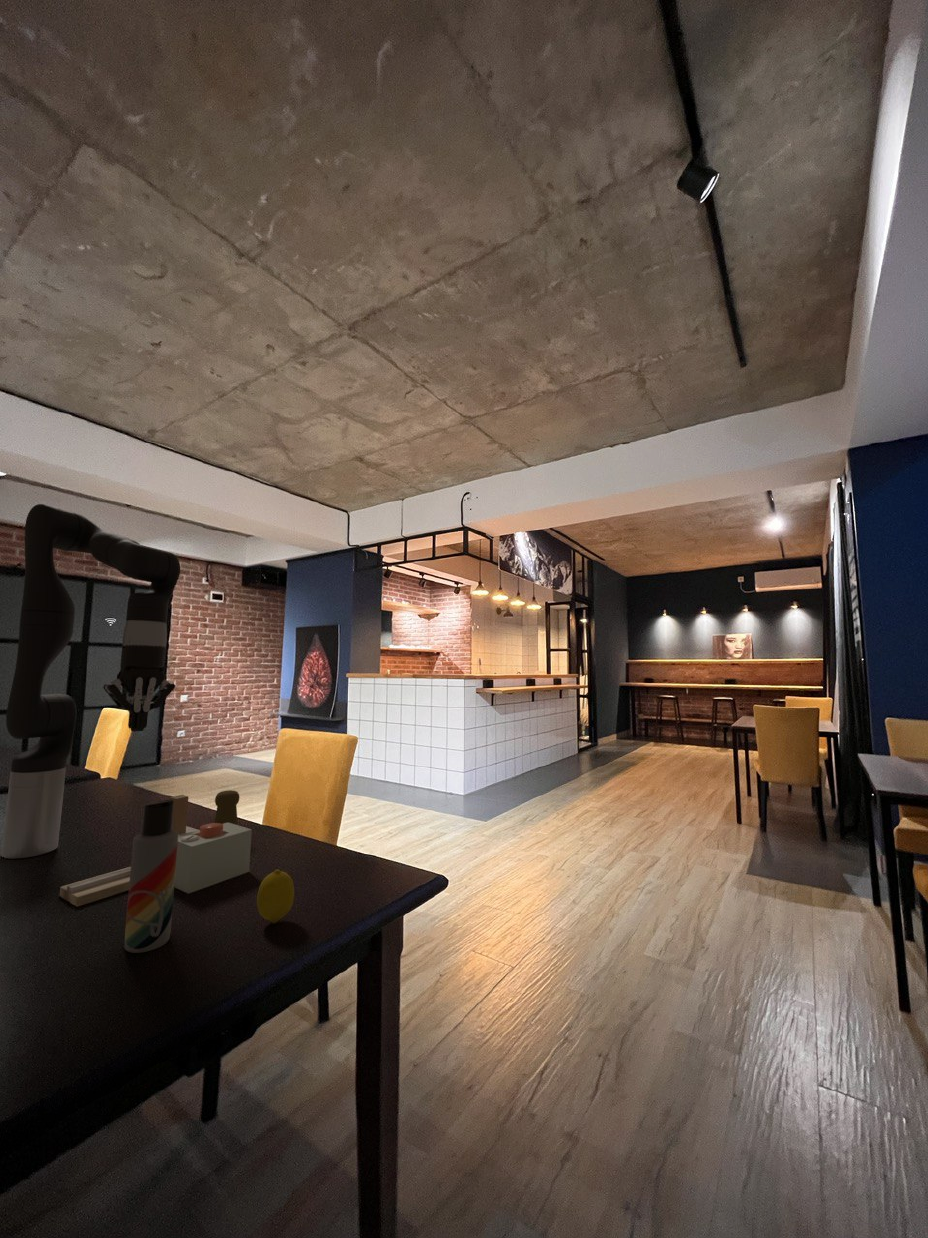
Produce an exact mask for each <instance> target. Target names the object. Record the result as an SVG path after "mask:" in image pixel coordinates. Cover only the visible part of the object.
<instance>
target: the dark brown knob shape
mask: <svg viewBox="0 0 928 1238" xmlns="http://www.w3.org/2000/svg"><path fill="white" fill-rule="evenodd" d="M240 798H241V797H240V793H239V792H238V791H236V790H228V789H227V790H222V791H220V792H218V793H217V794H216V795H215V799H214V802H215V803H214V804H215V805H216V811H215V815H214V820H213V823H221V824H224V823H232V824H235V825H238V826H239V824H238V811H237V810H238V809H237V807H238V806H237V805H238V804H239V801H240Z"/></svg>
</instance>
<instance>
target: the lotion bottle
mask: <svg viewBox="0 0 928 1238" xmlns="http://www.w3.org/2000/svg"><path fill="white" fill-rule="evenodd" d="M173 807H174V801H173V800H170V799H164V800H161V801H157V802H151V803H146V804H144V805H143V812H142V813H143V814H142V820H141V821H142V822H141V832H140V833H138V834H137V835H135V836H134V837H133V841H132V842H133V843H132V849H131V861H130V867H131V872H130V883H129V890H128V896H127V907H126V917H125V918H126V920H125V930H124V931H125V933H124V942H123V943H124V949H125V951H126V952H128V953H132V954H133V953H134V954H141V953H146V952H147V953H148V952H149V951H150V952H151V951H154V950H156V949H158V948H160V947H162V946H164V945H165V944H167V942H168V941H169V940H170V937H171V931H172V919H173V918H172V917H173V905H174V895H175V894H174V893H175V887H174V883H175V871H176V858H177V845H178V832H177V831H176V830H172V821H173Z"/></svg>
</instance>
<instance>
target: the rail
mask: <svg viewBox="0 0 928 1238" xmlns="http://www.w3.org/2000/svg"><path fill="white" fill-rule="evenodd" d="M130 872H131V866H128V867H125V868H122V869H118V870H114V871H110V872H108V873H107V872H106V873H104V874H100V875H97V876H93V877H90V878H86V879H83V880H79V881H76V882H72V883H70V884H65V885H62V886H60V887H59V888H60V889H59V895H58V896H59V897H61V898H62V899H63V900H65V901H67V902H69V904H72V905H73V906H75V907H81V906H84V905H87V904H90V903H94V902H96V901H100V900H101V899H102V900H103V899H105V898H109V897H112V896H115V895H118V894H122V893H124V892H127V891H129V883H130Z"/></svg>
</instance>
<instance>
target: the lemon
mask: <svg viewBox="0 0 928 1238" xmlns="http://www.w3.org/2000/svg"><path fill="white" fill-rule="evenodd" d="M294 899H295V887H294V881H293V878H292V877H291V876H290V875H289V874H288V873H287V872H285V871H281V870H280V869H275V870H274V871H273V872H271V873H268V874H267V875H266V876H265V877H264V878H263V879H262V881H261V883H260V884H259V889H258V892H257V895H256V907H257V911H258V913H259V915H260V917H262V918H263V919H264V920H266V921H269V922H271V923H272V924H276V923H278V922H279V920H281V919H283V918H284V917H285V916H286V915H287V914H288V913H289V912H290V910H291V909H292V906H293V905H294Z"/></svg>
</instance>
